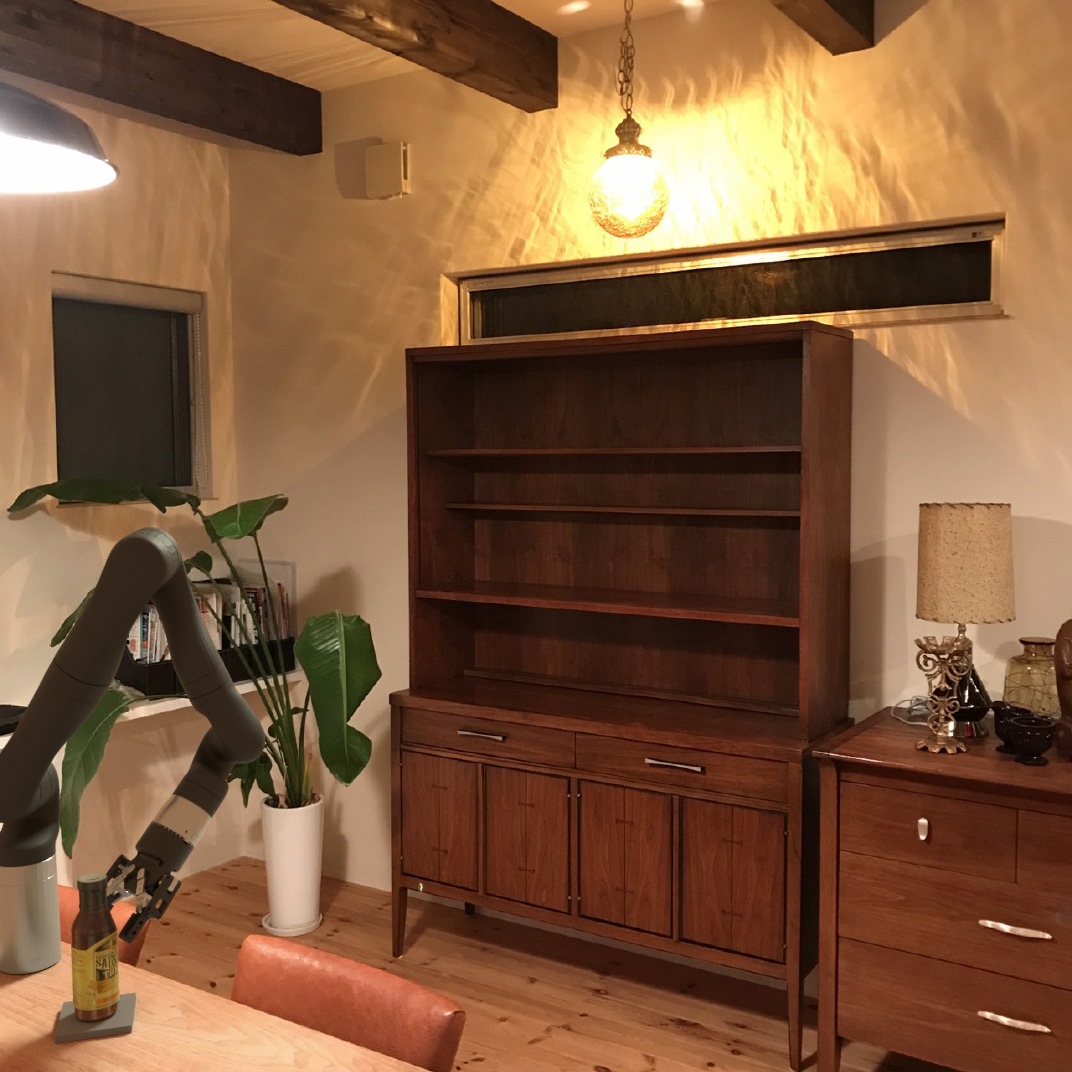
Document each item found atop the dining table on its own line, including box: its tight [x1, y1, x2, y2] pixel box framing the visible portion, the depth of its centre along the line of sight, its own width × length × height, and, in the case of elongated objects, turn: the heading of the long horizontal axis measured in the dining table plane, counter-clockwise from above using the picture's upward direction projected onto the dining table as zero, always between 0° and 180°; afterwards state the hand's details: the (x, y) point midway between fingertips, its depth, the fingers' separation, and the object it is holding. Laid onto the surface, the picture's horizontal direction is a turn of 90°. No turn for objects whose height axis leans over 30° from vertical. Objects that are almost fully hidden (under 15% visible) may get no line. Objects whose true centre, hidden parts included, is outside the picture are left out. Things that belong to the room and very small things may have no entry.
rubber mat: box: [54, 992, 137, 1044], centre depth 166 cm, size 10×10×1 cm
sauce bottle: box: [70, 872, 121, 1021], centre depth 165 cm, size 7×6×20 cm
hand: (107, 932), depth 167 cm, fingers open, 8 cm apart
